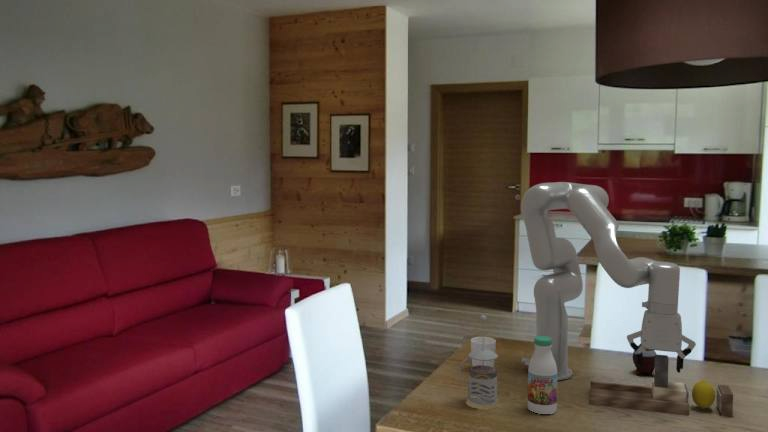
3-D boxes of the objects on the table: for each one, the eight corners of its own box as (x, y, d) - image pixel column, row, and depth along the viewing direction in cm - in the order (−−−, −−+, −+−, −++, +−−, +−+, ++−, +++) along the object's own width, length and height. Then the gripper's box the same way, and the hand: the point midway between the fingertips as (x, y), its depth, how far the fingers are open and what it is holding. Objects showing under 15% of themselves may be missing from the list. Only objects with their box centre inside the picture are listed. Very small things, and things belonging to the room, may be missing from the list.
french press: (498, 411, 174) (499, 320, 172) (455, 407, 177) (455, 318, 175) (502, 398, 183) (503, 312, 181) (462, 394, 187) (462, 309, 184)
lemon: (717, 413, 171) (718, 384, 170) (694, 412, 172) (695, 383, 171) (711, 405, 176) (712, 377, 175) (689, 404, 177) (690, 376, 176)
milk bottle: (525, 404, 179) (525, 333, 177) (553, 404, 178) (554, 333, 177) (530, 415, 171) (531, 342, 169) (560, 415, 171) (561, 341, 169)
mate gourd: (627, 372, 203) (628, 326, 202) (643, 368, 207) (645, 322, 206) (647, 379, 197) (649, 331, 196) (664, 374, 201) (665, 327, 200)
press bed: (589, 404, 178) (589, 394, 178) (590, 390, 189) (590, 381, 188) (689, 415, 170) (689, 404, 170) (684, 400, 180) (684, 390, 180)
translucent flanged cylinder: (477, 365, 212) (478, 335, 212) (499, 369, 208) (500, 339, 207) (466, 371, 206) (466, 341, 205) (488, 376, 202) (488, 345, 201)
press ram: (653, 403, 175) (654, 359, 174) (651, 393, 181) (652, 352, 180) (688, 406, 172) (689, 362, 171) (685, 397, 178) (686, 355, 177)
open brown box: (719, 415, 170) (720, 393, 169) (715, 405, 176) (716, 384, 176) (732, 417, 169) (733, 394, 168) (727, 407, 175) (728, 385, 175)
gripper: (628, 308, 174) (625, 369, 176) (699, 314, 169) (695, 377, 171) (628, 301, 181) (625, 360, 183) (695, 307, 176) (692, 368, 178)
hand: (659, 368), depth 177 cm, fingers open, 9 cm apart
